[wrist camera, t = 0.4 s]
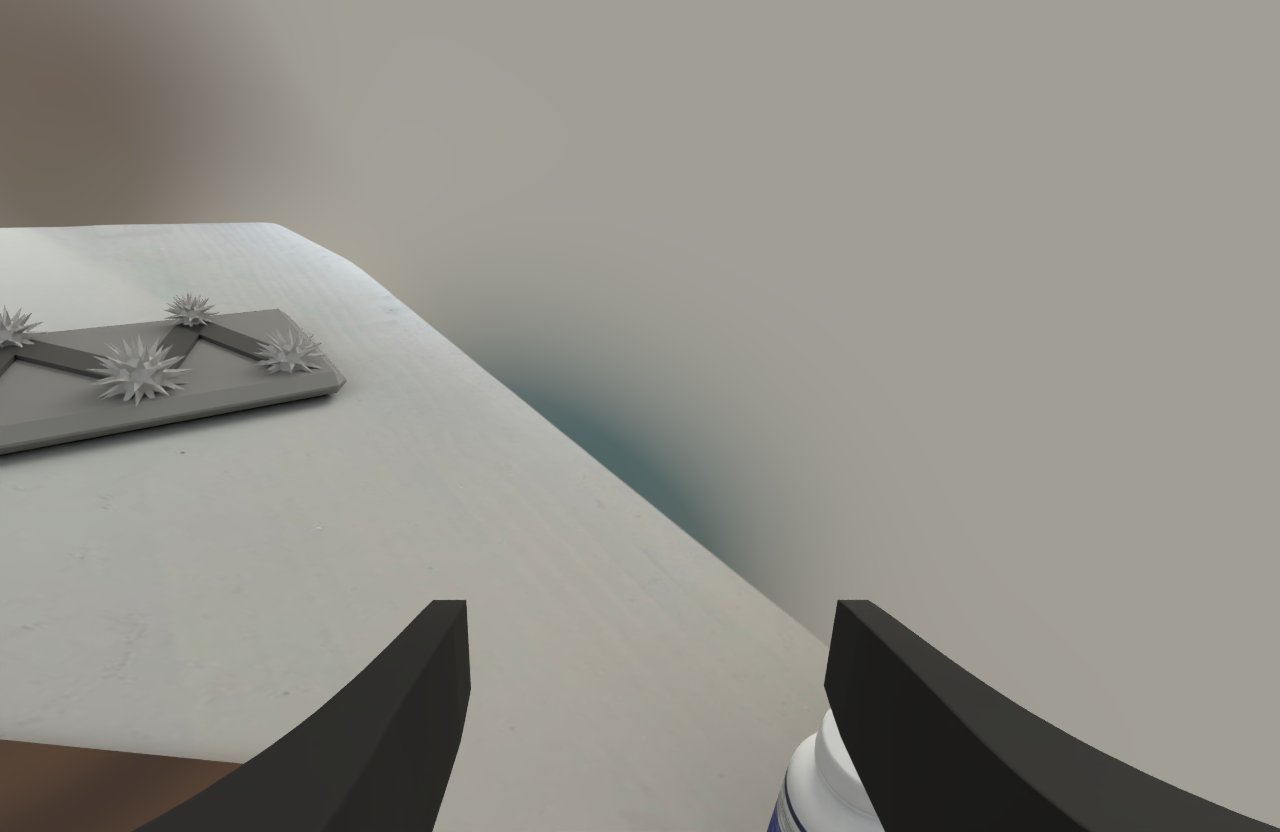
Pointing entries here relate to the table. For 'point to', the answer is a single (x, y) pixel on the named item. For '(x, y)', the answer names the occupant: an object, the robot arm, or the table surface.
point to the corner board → (94, 787)
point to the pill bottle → (823, 789)
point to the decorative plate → (151, 373)
